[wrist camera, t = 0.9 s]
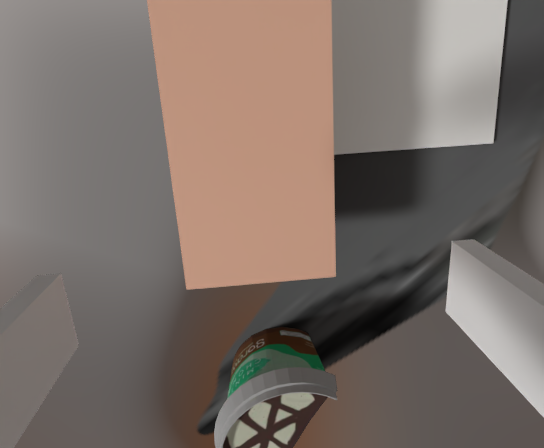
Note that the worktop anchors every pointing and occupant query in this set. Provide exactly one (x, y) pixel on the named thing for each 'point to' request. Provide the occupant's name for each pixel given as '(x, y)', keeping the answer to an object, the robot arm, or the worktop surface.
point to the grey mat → (415, 73)
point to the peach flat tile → (249, 136)
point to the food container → (273, 391)
